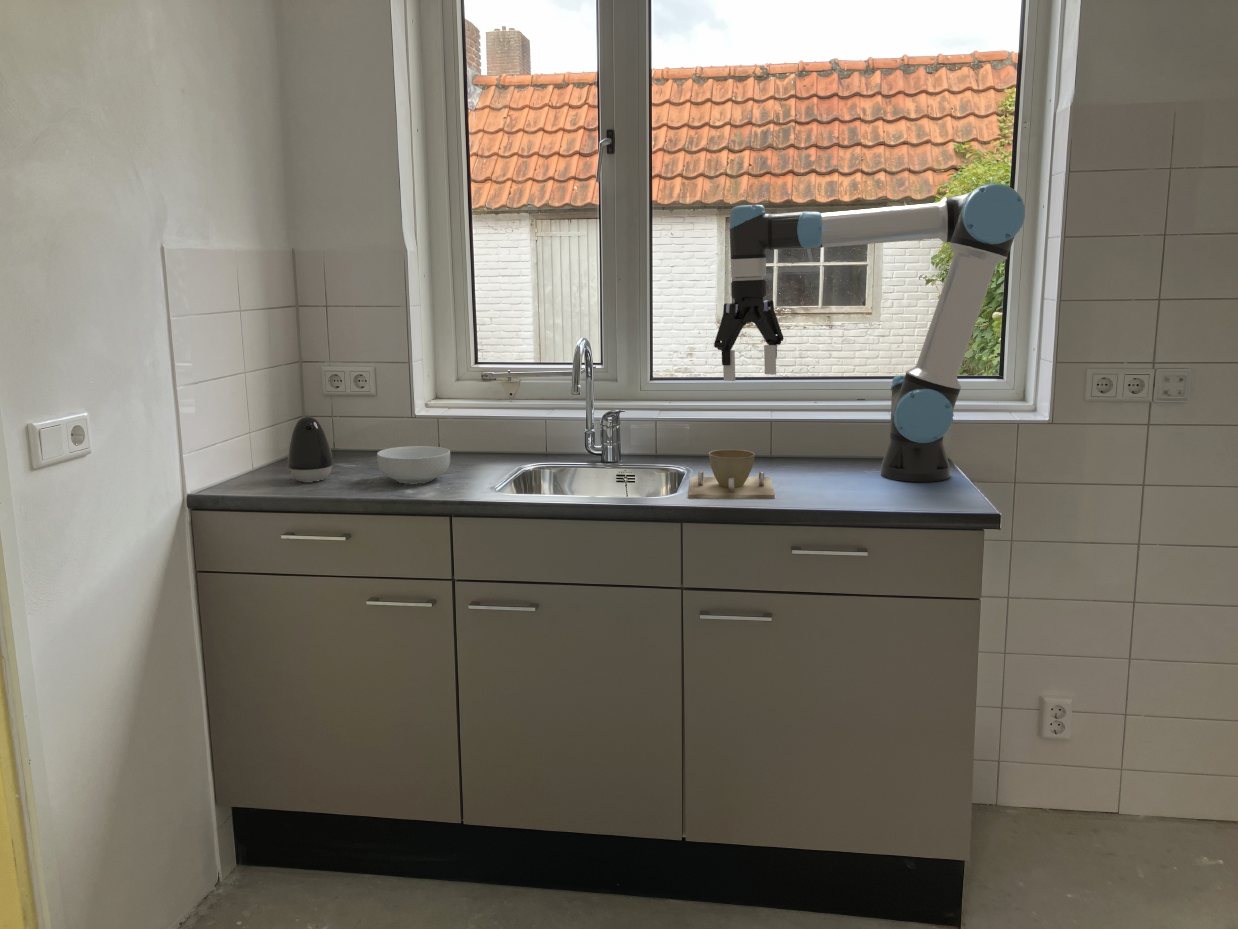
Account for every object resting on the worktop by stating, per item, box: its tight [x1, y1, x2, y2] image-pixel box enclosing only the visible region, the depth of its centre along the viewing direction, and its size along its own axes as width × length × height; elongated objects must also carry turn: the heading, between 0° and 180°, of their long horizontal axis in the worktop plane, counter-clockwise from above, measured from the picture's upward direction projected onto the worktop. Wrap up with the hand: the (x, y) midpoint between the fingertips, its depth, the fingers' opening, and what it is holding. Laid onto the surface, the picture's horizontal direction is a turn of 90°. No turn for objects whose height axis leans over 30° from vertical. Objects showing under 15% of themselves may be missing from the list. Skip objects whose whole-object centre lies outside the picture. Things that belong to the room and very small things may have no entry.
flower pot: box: [708, 448, 756, 488], centre depth 219 cm, size 10×10×7 cm
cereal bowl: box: [376, 445, 451, 484], centre depth 233 cm, size 17×17×7 cm
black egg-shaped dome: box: [287, 416, 334, 482], centre depth 235 cm, size 10×10×15 cm
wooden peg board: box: [687, 470, 776, 500], centre depth 219 cm, size 18×18×4 cm
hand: (750, 377), depth 221 cm, fingers open, 13 cm apart
